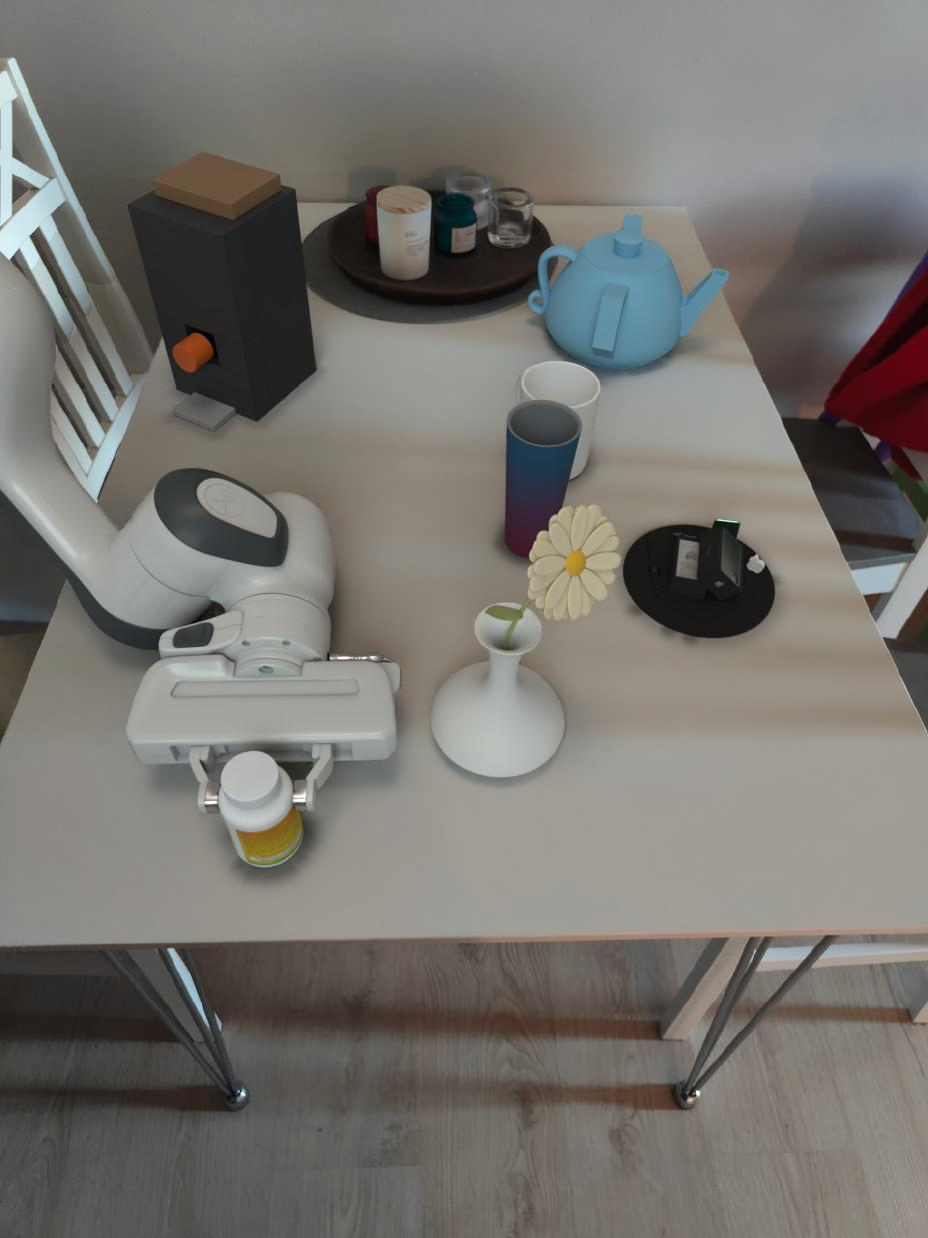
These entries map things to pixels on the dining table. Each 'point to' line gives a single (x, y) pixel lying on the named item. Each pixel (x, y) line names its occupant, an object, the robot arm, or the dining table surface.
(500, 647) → the flower in vase
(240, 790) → the supplement bottle
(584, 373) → the mug
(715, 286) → the teapot
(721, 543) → the black round display stand
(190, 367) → the power button
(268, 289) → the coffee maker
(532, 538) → the cup
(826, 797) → the dining table surface
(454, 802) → the dining table surface
